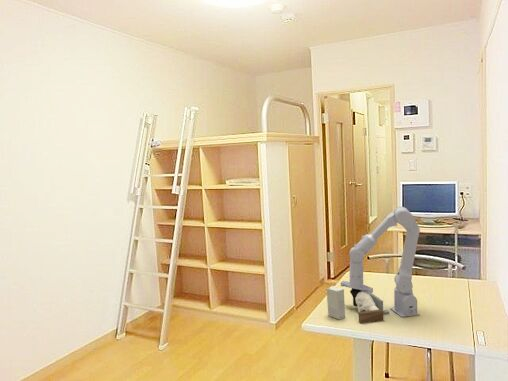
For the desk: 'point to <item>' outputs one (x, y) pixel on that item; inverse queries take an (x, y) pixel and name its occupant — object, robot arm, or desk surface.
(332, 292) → the skincare box
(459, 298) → the desk surface
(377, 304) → the screen
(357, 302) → the white lumpy rounded piece
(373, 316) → the stop bar
